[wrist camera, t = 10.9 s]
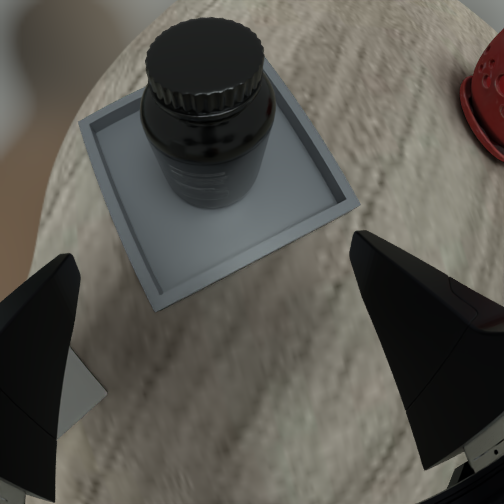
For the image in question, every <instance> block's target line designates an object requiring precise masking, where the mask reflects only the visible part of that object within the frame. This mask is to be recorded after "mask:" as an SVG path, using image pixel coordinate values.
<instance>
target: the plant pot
mask: <svg viewBox="0 0 504 504" xmlns="http://www.w3.org/2000/svg"><path fill="white" fill-rule="evenodd" d="M460 101H461V105H462V109H463V112H464V114H465V117H466V119H467V121H468V123H469V125H470V127H471V129H472V131H473V132H474V134H475V135H476V137H477V138H478V140H479V141H480V142H481V143H482V145H483V146H484V147H485V148H486V149H487V150H488V151H489V152H490V153H491V154H492V155H493V156H495V157H496V158H497V159H499V160H501V161H502V162H504V29H503V30H502V31H501V32H500V33H499V34H498V35H497V36H496V37H495V38H494V39H493V40H492V41H491V43H490V44H489V45H488V46H487V48H486V49H485V51H484V52H483V54H482V55H481V57H480V59H479V61H478V63H477V65H476V67H475V70H474V74H473V76H468V77H466V78H465V79H464V80H463V82H462V84H461V86H460Z"/></svg>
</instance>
